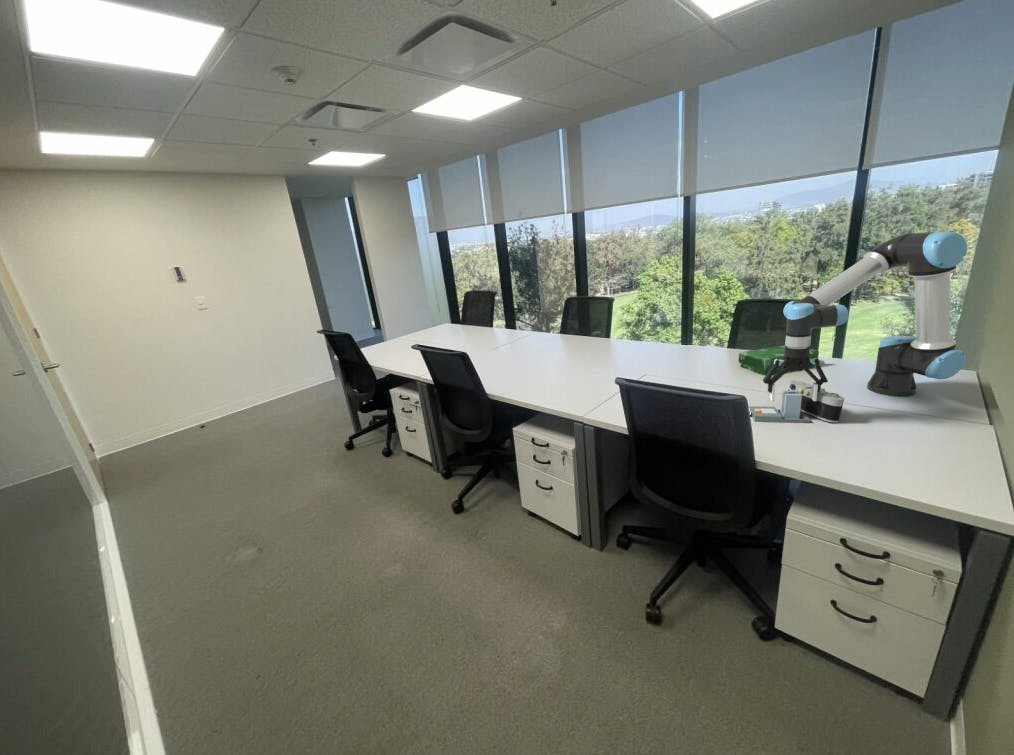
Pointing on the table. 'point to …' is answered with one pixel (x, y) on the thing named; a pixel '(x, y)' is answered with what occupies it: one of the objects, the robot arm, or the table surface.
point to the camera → (818, 402)
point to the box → (767, 359)
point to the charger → (790, 404)
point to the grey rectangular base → (773, 415)
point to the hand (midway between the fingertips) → (792, 400)
